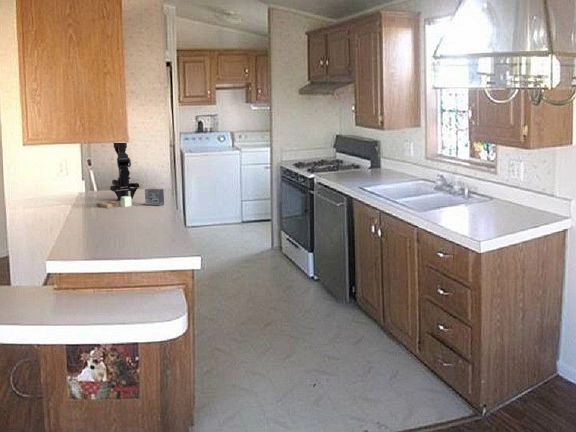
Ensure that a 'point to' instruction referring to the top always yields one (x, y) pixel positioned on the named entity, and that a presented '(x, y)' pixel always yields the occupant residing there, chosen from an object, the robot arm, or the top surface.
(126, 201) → the block
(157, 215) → the top surface
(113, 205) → the base board
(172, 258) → the top surface
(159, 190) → the small box
